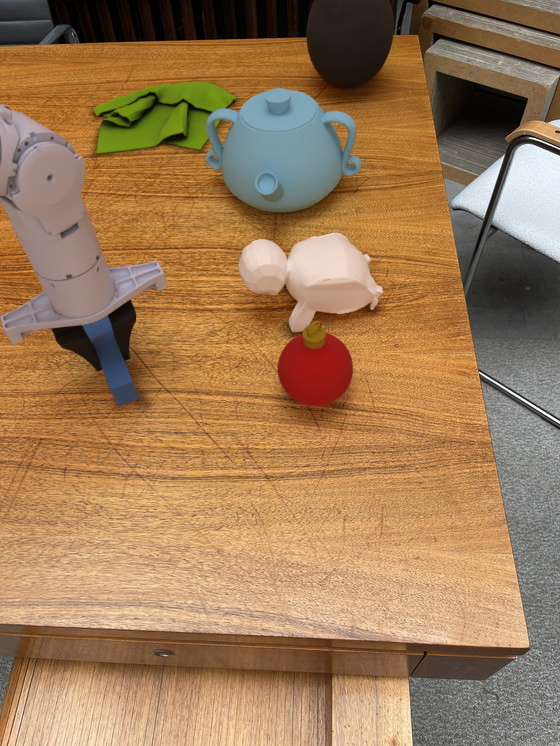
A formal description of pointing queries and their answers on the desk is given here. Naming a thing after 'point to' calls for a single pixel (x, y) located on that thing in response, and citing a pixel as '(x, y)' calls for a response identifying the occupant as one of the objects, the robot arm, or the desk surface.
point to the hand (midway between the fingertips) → (111, 358)
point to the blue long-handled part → (112, 361)
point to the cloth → (160, 116)
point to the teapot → (282, 150)
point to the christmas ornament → (315, 367)
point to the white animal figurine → (311, 275)
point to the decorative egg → (349, 40)
